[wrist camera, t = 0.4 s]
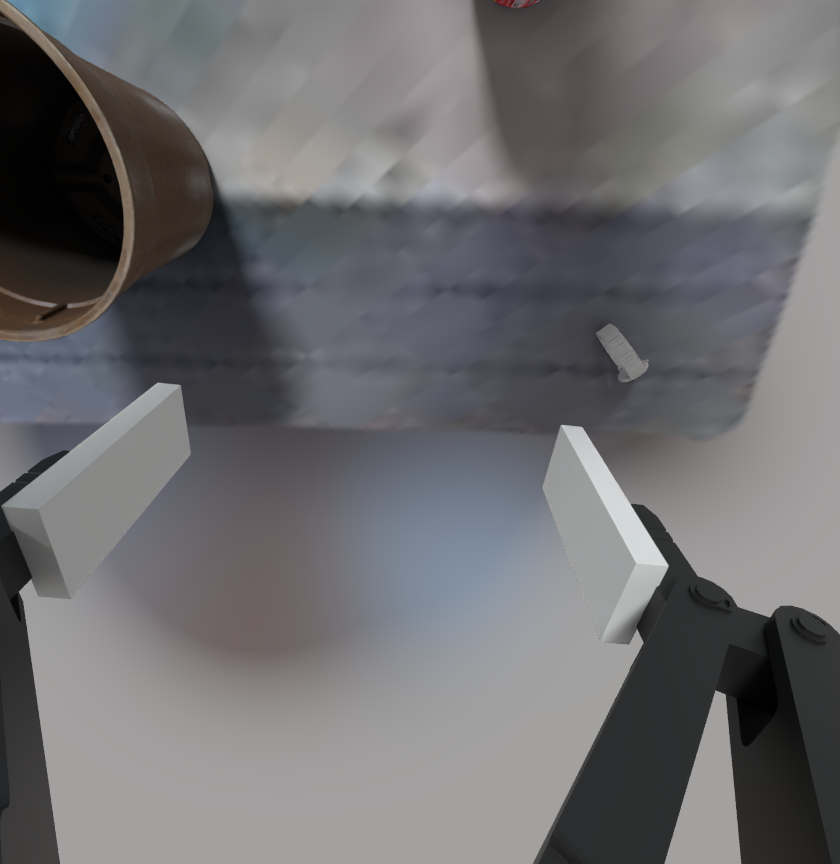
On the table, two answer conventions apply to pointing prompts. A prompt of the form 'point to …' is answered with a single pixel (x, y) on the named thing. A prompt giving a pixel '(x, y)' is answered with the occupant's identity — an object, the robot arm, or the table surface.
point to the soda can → (516, 3)
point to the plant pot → (84, 185)
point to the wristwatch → (622, 354)
